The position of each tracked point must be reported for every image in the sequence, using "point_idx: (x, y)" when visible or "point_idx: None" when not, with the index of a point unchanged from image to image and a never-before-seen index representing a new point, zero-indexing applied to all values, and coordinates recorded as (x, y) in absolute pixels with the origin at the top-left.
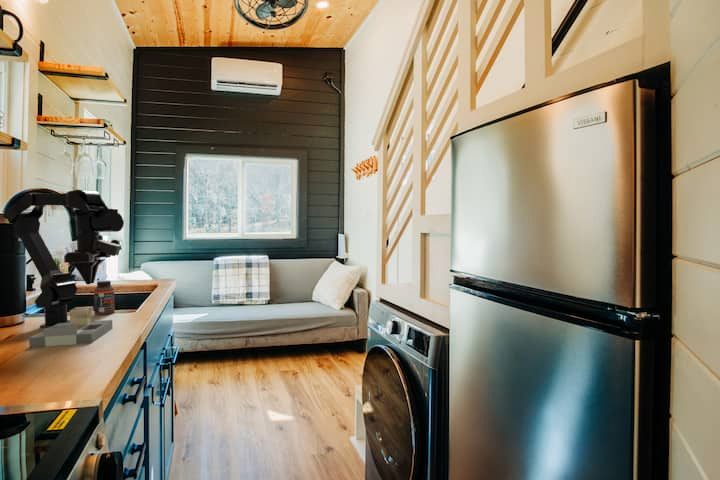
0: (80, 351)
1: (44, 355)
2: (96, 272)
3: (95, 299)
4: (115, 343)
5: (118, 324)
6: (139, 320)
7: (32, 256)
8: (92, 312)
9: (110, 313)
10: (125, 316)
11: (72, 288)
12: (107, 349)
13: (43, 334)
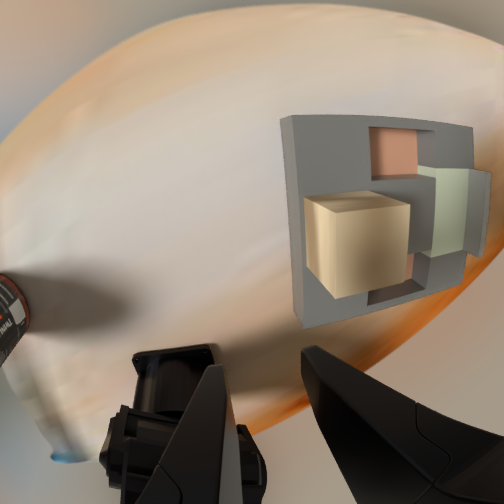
0: (492, 133)
1: (496, 199)
2: (171, 457)
3: (3, 360)
4: (456, 65)
5: (200, 125)
6: (130, 65)
7: None
8: (331, 204)
9: (6, 278)
10: (37, 184)
11: (160, 455)
12: (486, 78)
13: (446, 269)
